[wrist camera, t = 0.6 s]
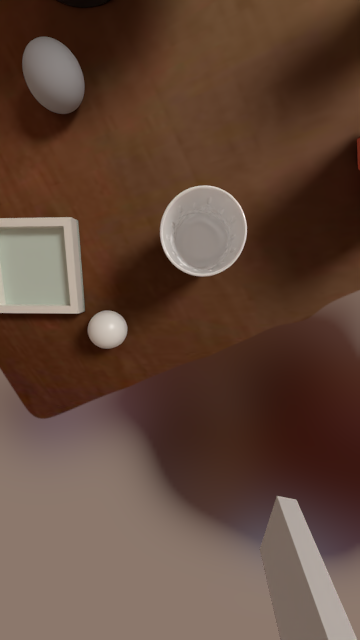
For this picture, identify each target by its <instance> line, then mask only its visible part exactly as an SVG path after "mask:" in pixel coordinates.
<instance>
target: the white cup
mask: <svg viewBox="0 0 360 640" xmlns="http://www.w3.org/2000/svg"><path fill="white" fill-rule="evenodd" d="M246 236H247V224H246V219H245V215H244V212H243V210H242V208H241V206H240V205H239V203H238V202H237V201H236V199H235V198H234V197H233V196H231V195H230V194H229V193H227V192H226V191H224V190H222V189H220V188H217V187H213V186H196V187H192V188H189V189H187V190H185V191H183V192H181V193H180V194H179V195H177V196H176V197H175V198H174V199H173V200H172V201H171V202H170V204H169V205H168V206H167V208H166V210H165V212H164V214H163V217H162V220H161V225H160V239H161V244H162V247H163V250H164V252H165V254H166V256H167V257H168V259H169V260H170V261H171V263H172V264H173V265H174V266H176V267H177V268H178V269H180V270H181V271H183V272H185V273H187V274H190V275H194V276H211V275H215V274H218V273H220V272H222V271H224V270H225V269H227V268H228V267H230V266H231V265H232V264H233V263H234V262H235V261H236V260H237V258H238V257H239V255H240V254H241V252H242V250H243V247H244V245H245V241H246Z"/></svg>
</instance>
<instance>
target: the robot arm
mask: <svg viewBox="0 0 360 640" xmlns="http://www.w3.org/2000/svg"><path fill="white" fill-rule="evenodd" d="M58 1H60V2H62V3H64V4H67V5H71V6H75V7H92V6H97V5H100V4H103V3H106V2H108V1H110V0H58ZM260 552H261V557H262V561H263V565H264V570H265V574H266V579H267V583H268V588H269V592H270V596H271V601H272V605H273V609H274V614H275V618H276V622H277V627H278V631H279V635H280V639H281V640H357V638H356V636H355V634H354V631H353V629H352V627H351V624H350V622H349V620H348V618H347V615H346V613H345V611H344V608H343V606H342V604H341V602H340V599H339V597H338V595H337V592H336V590H335V588H334V585H333V583H332V581H331V578H330V576H329V574H328V571H327V569H326V567H325V565H324V562H323V560H322V558H321V555H320V553H319V551H318V549H317V546H316V544H315V542H314V539H313V537H312V535H311V532H310V530H309V528H308V526H307V523H306V521H305V519H304V516H303V514H302V512H301V509H300V507H299V505H298V502H297V500H295V499H290V498H285V497H280V496H277V497H276V501H275V504H274V507H273V510H272V513H271V517H270V520H269V522H268V526H267V529H266V532H265V535H264V538H263V541H262V545H261V548H260Z"/></svg>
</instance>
